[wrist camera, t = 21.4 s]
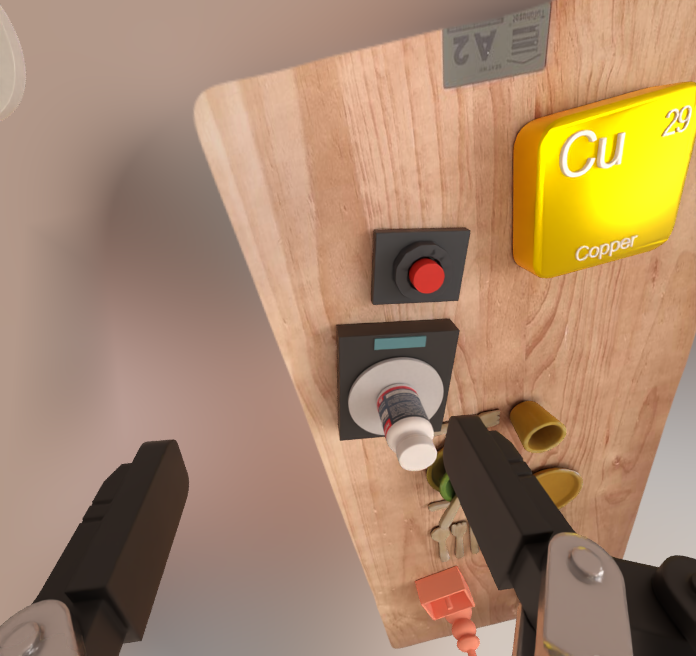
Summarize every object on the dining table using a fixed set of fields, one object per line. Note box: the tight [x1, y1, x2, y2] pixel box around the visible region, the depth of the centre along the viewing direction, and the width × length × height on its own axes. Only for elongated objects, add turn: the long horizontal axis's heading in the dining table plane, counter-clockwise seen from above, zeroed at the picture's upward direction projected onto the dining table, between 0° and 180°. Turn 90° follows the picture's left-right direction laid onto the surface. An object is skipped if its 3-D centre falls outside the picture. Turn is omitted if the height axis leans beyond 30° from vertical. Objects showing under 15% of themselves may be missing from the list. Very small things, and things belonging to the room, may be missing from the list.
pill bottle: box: [376, 384, 437, 471], centre depth 38 cm, size 5×5×9 cm
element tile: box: [513, 82, 696, 278], centre depth 34 cm, size 15×15×5 cm
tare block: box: [371, 228, 470, 305], centre depth 37 cm, size 10×8×3 cm
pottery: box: [415, 566, 480, 656], centre depth 72 cm, size 18×10×10 cm, turn 24°
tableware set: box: [427, 401, 583, 562], centre depth 57 cm, size 41×28×6 cm
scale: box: [337, 319, 459, 441], centre depth 43 cm, size 14×16×4 cm
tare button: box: [409, 258, 444, 293], centre depth 35 cm, size 3×3×2 cm
